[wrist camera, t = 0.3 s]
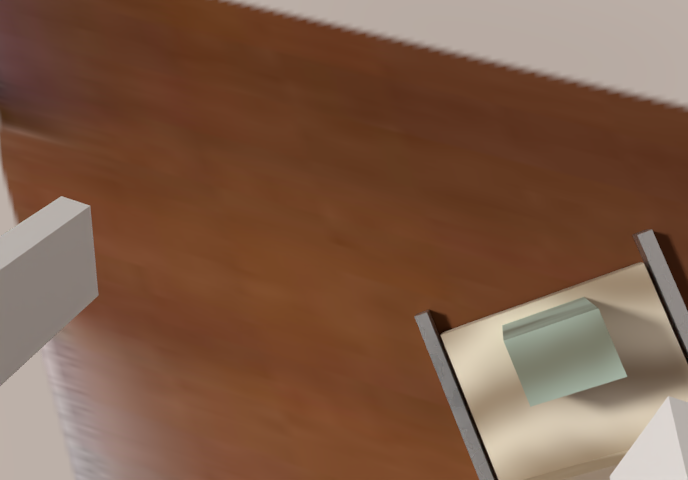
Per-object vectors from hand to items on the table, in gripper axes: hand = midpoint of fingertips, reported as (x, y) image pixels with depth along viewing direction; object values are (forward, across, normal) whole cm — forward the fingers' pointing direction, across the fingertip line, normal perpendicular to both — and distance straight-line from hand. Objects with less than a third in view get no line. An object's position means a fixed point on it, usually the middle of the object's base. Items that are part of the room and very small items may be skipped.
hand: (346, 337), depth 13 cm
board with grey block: (+22, -18, +24) cm, 37 cm away
